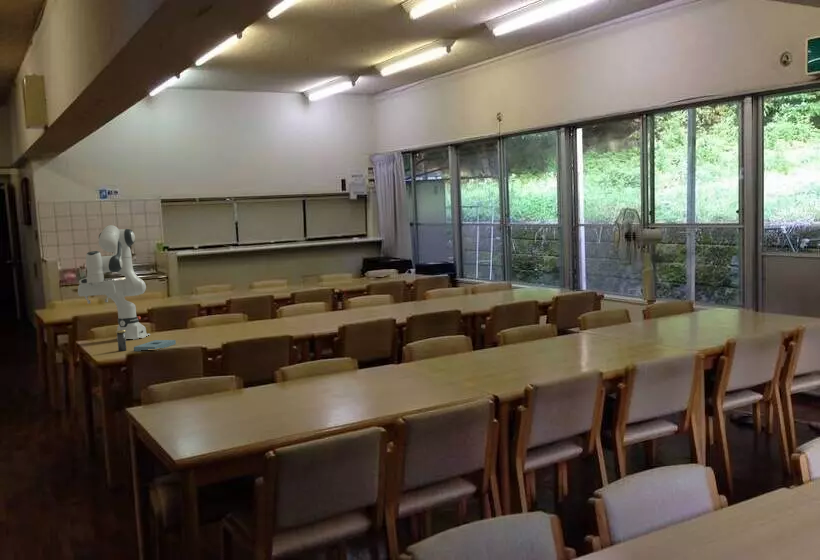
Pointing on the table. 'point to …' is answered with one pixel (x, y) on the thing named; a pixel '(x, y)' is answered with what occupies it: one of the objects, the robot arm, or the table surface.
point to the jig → (155, 345)
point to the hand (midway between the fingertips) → (97, 302)
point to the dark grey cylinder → (121, 340)
